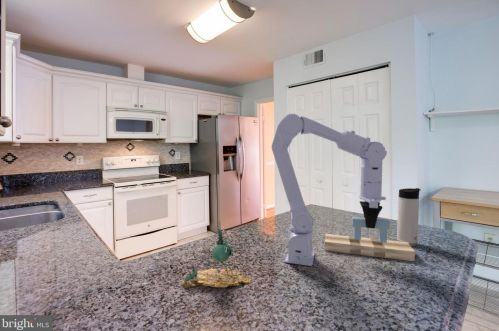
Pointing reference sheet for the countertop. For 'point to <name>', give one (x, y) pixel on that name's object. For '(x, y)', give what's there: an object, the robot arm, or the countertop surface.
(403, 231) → the travel mug
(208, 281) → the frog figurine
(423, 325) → the countertop surface
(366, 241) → the rail
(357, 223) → the clip
